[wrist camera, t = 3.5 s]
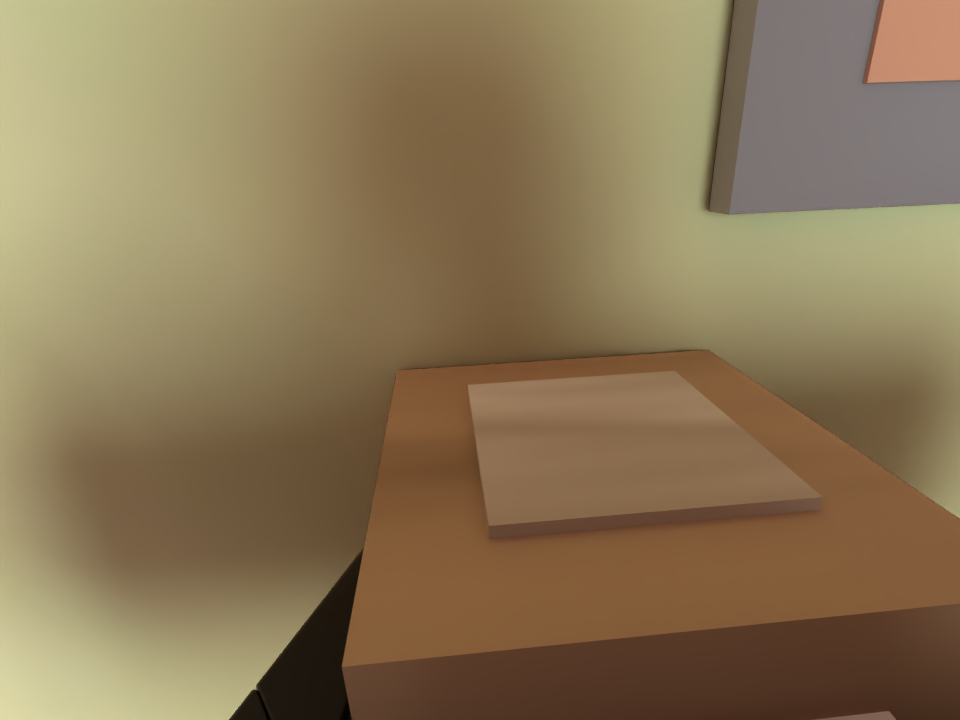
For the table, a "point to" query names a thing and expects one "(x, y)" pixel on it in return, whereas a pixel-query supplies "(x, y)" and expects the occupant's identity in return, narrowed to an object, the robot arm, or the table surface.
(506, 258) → the table surface
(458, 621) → the brown paneled cube
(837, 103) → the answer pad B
